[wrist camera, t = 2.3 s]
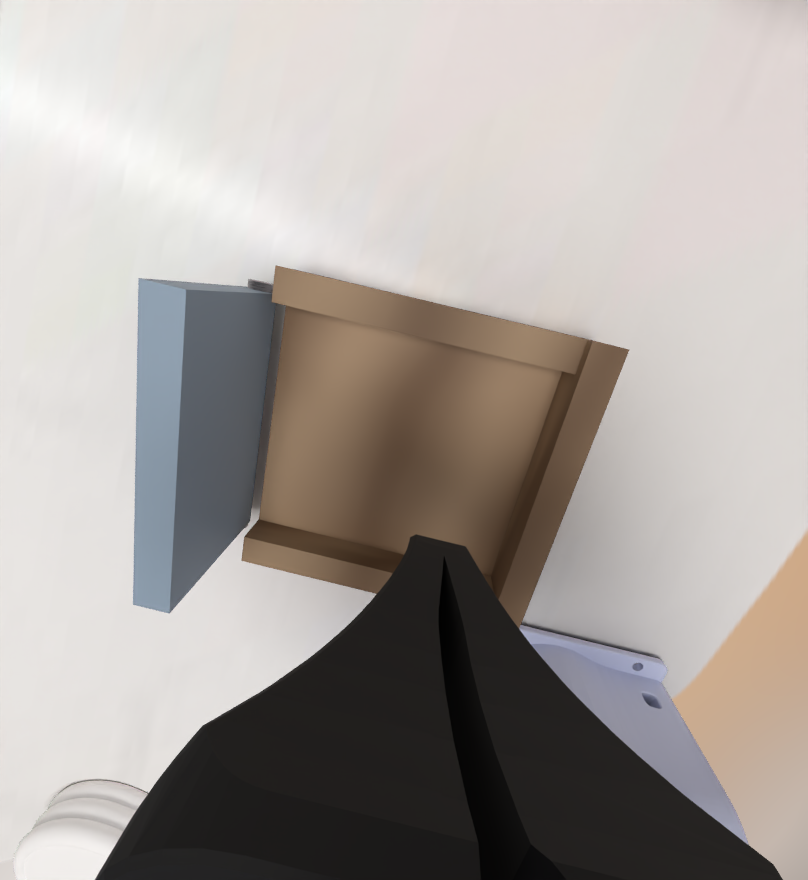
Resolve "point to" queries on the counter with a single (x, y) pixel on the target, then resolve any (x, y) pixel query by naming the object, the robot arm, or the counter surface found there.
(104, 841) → the coaster
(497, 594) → the wooden tray
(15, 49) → the counter surface
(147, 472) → the tailgate
